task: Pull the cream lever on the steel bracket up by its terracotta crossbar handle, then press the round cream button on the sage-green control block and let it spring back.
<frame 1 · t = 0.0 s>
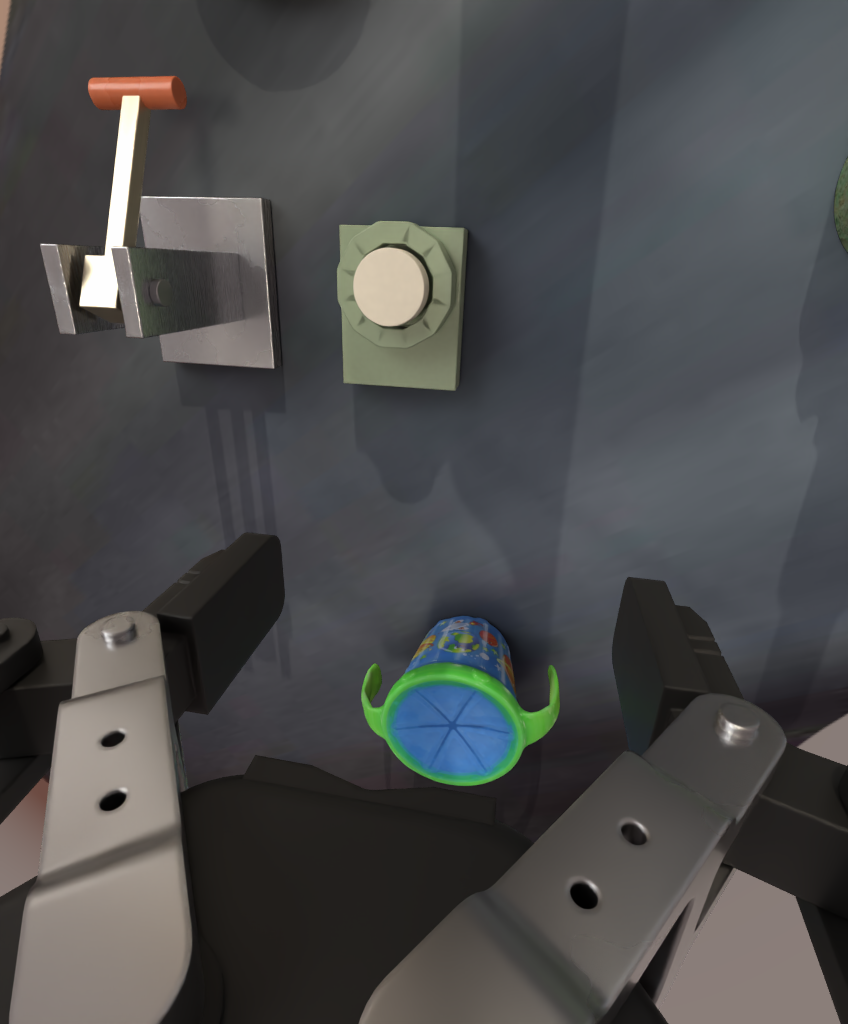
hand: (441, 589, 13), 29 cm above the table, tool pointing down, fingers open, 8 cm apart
lever: (126, 198, 31), point 9 cm above the table, hinge at -25.0°
control block: (406, 308, 39), on the table
bracket: (218, 285, 40), on the table
snack cup: (466, 646, 49), on the table
button: (391, 287, 34), point 4 cm above the table, slide at 0.1 cm
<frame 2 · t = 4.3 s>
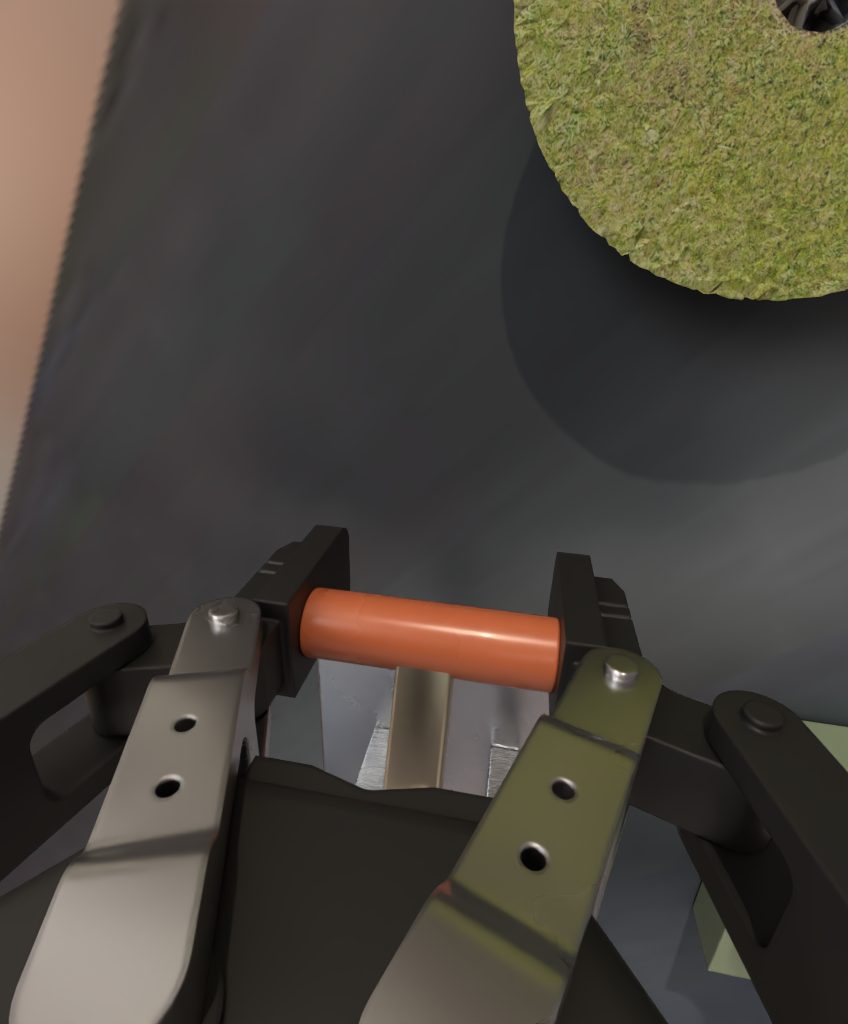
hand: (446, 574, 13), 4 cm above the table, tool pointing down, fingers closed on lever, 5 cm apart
lever: (399, 928, 11), point 9 cm above the table, hinge at -25.0°, touching gripper
control block: (846, 842, 19), on the table
bracket: (448, 753, 21), on the table
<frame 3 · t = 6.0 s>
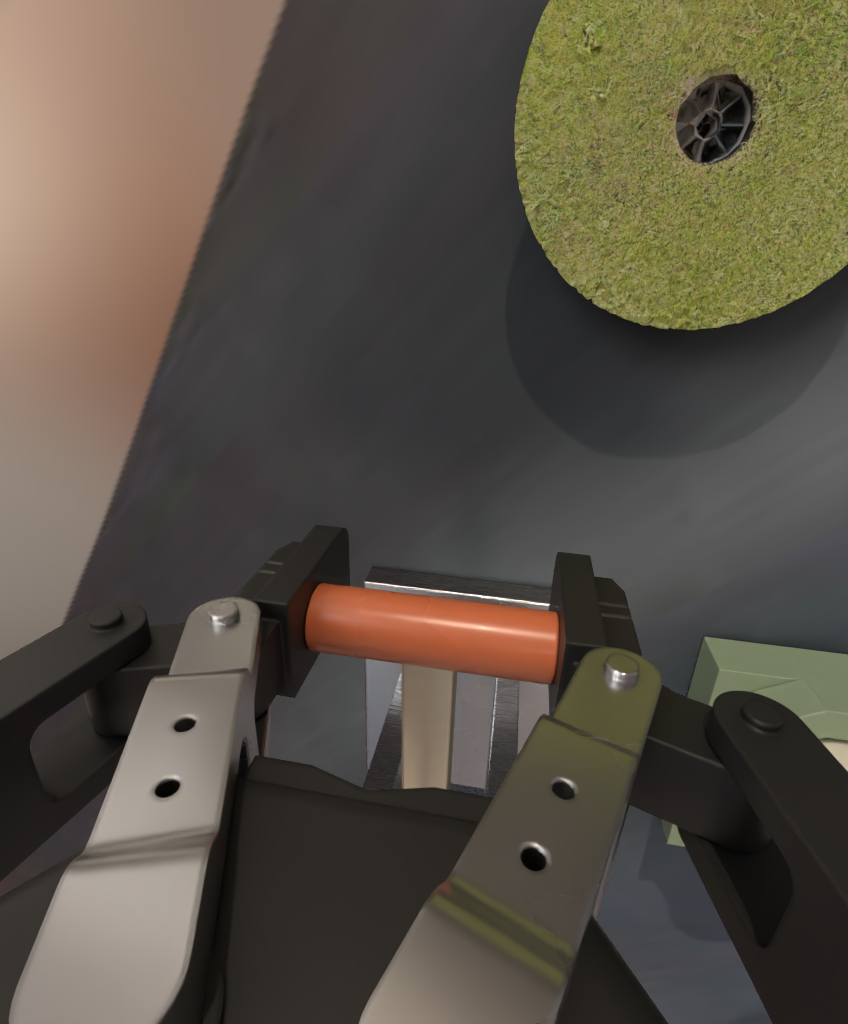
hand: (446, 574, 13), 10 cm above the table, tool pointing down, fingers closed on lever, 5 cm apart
lever: (426, 809, 14), point 11 cm above the table, hinge at 4.8°, touching gripper
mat: (699, 133, 17), on the table
control block: (771, 739, 25), on the table
bracket: (463, 677, 27), on the table
button: (831, 801, 20), point 4 cm above the table, slide at 0.1 cm
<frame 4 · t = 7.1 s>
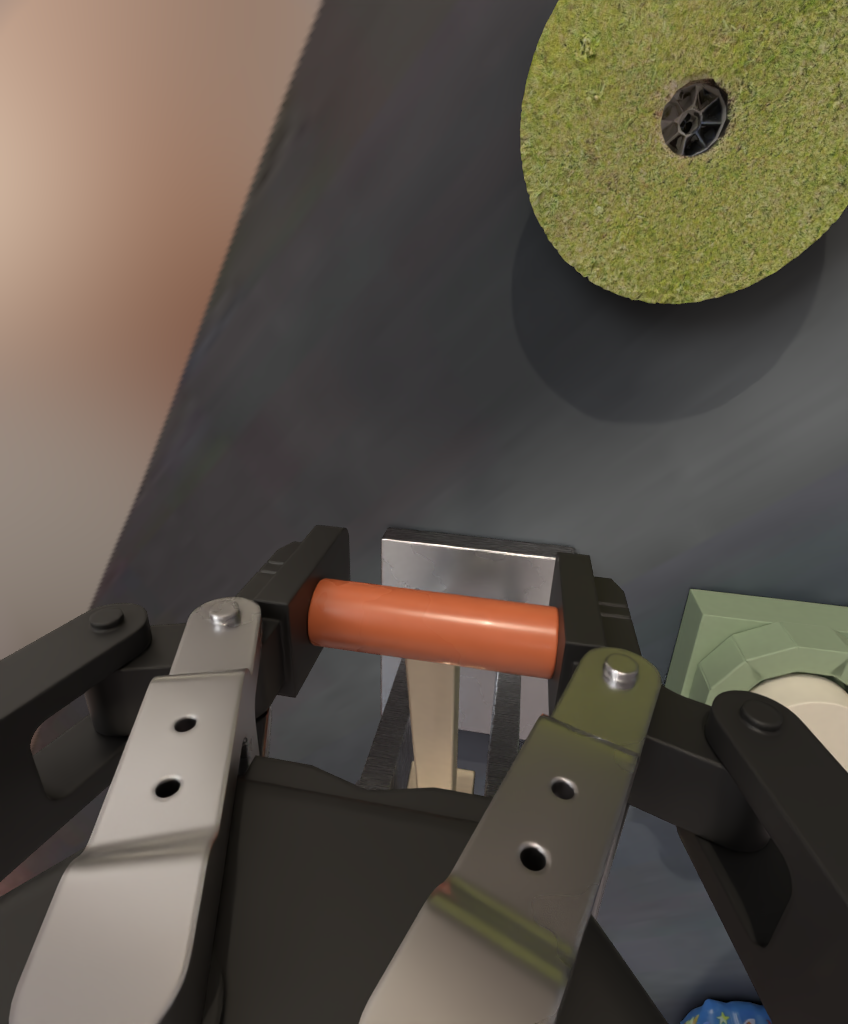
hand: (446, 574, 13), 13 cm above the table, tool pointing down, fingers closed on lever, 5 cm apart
lever: (436, 750, 16), point 13 cm above the table, hinge at 19.5°, touching gripper
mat: (683, 130, 19), on the table
control block: (752, 685, 27), on the table
bracket: (470, 630, 29), on the table
snack cup: (735, 1022, 38), on the table
button: (802, 730, 23), point 4 cm above the table, slide at 0.1 cm
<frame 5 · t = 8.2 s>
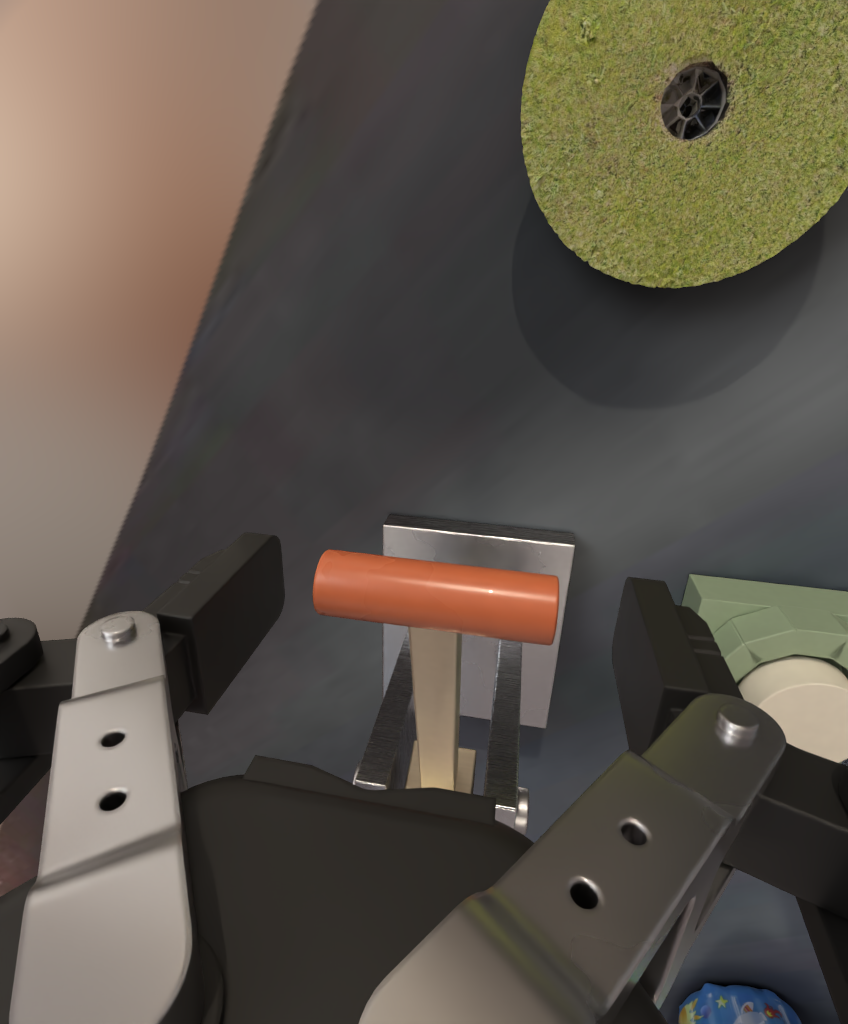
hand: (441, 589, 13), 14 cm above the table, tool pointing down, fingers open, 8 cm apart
lever: (438, 725, 16), point 13 cm above the table, hinge at 19.1°
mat: (683, 114, 20), on the table
control block: (751, 670, 28), on the table
bracket: (471, 617, 29), on the table
snack cup: (733, 1006, 38), on the table
button: (799, 712, 23), point 4 cm above the table, slide at 0.1 cm
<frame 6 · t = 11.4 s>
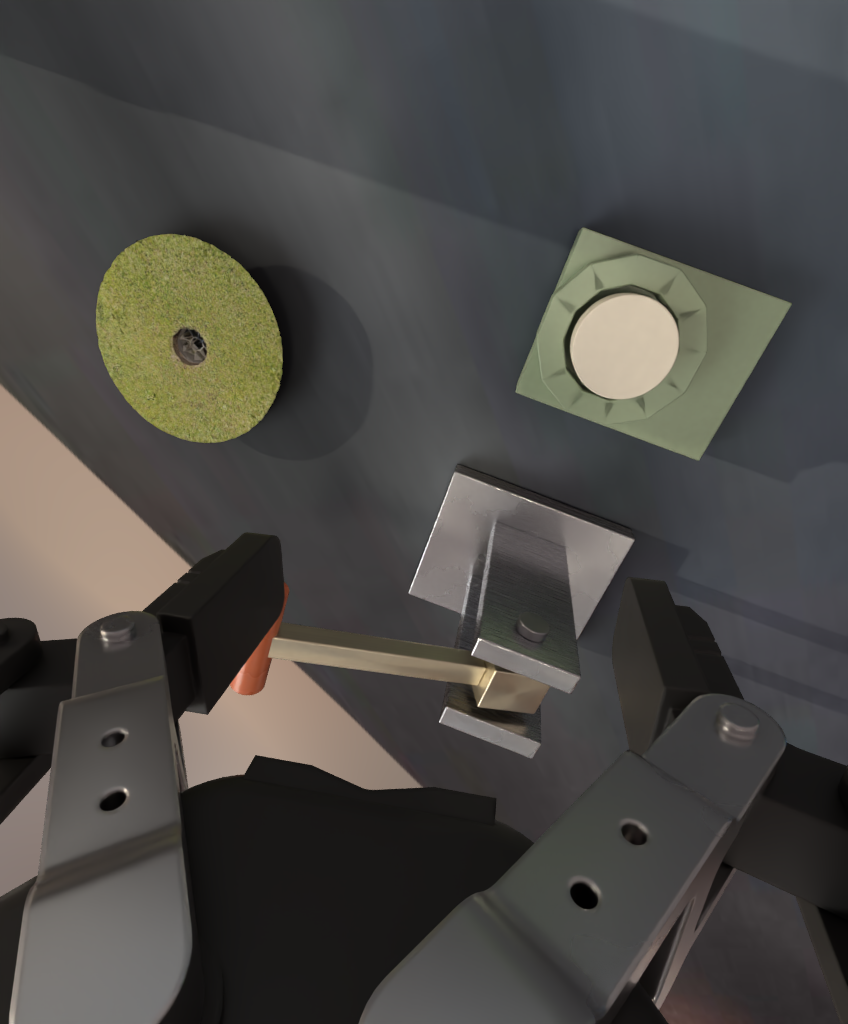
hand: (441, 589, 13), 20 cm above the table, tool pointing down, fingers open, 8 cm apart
lever: (398, 657, 24), point 13 cm above the table, hinge at 19.1°
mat: (206, 341, 33), on the table
control block: (636, 345, 29), on the table
bracket: (515, 557, 35), on the table
button: (621, 346, 25), point 4 cm above the table, slide at 0.1 cm
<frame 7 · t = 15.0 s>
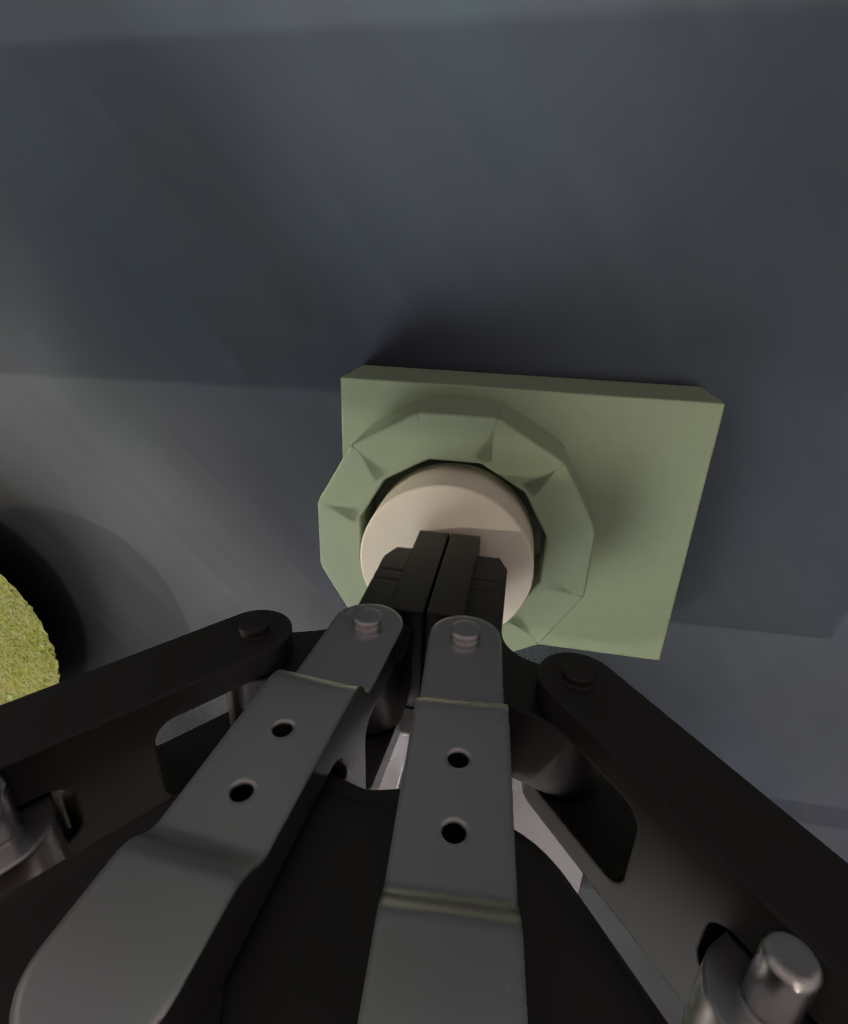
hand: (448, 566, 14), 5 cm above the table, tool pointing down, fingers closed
control block: (511, 498, 18), on the table
bracket: (456, 794, 24), on the table
button: (449, 551, 15), point 4 cm above the table, slide at -0.3 cm, touching gripper
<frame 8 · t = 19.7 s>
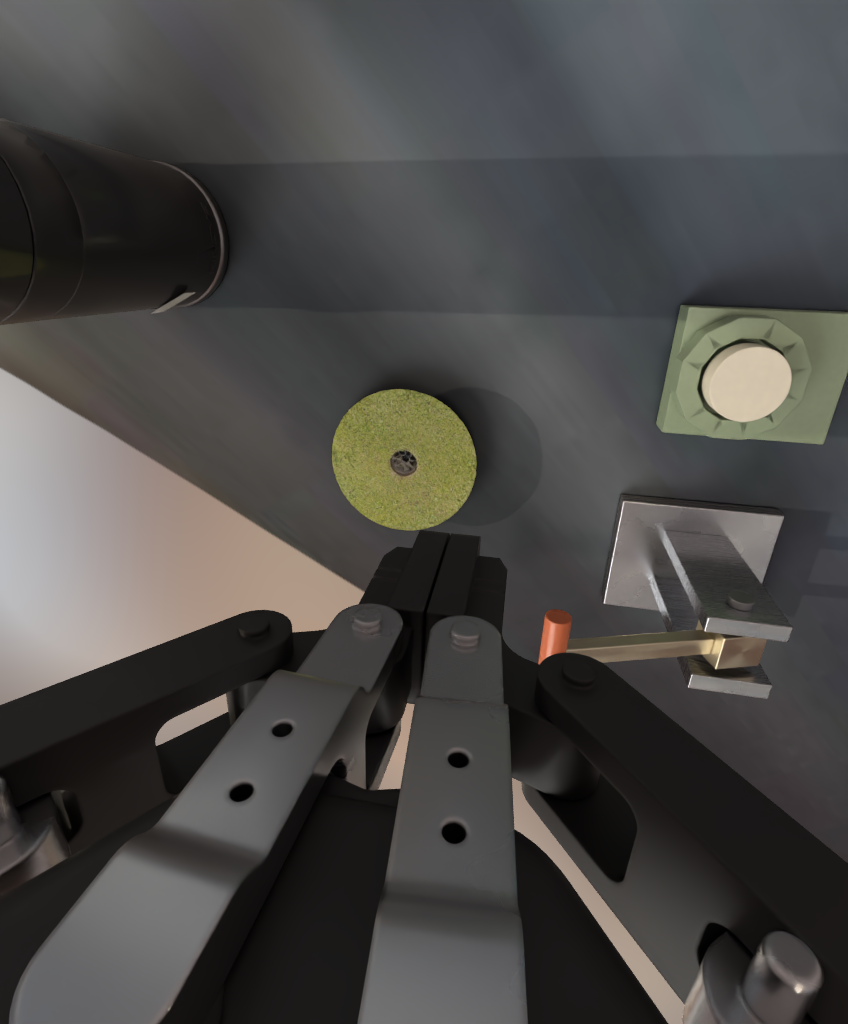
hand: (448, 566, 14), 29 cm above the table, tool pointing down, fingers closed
lever: (648, 646, 32), point 13 cm above the table, hinge at 19.1°
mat: (407, 455, 44), on the table
control block: (746, 371, 37), on the table
bracket: (683, 554, 43), on the table
button: (745, 382, 33), point 4 cm above the table, slide at 0.1 cm
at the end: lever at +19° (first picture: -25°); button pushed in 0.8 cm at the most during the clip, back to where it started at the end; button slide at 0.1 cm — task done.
